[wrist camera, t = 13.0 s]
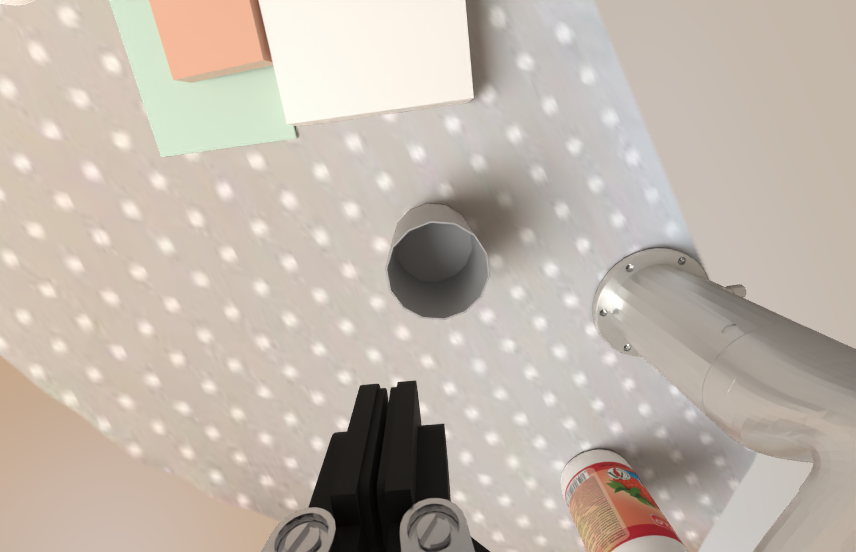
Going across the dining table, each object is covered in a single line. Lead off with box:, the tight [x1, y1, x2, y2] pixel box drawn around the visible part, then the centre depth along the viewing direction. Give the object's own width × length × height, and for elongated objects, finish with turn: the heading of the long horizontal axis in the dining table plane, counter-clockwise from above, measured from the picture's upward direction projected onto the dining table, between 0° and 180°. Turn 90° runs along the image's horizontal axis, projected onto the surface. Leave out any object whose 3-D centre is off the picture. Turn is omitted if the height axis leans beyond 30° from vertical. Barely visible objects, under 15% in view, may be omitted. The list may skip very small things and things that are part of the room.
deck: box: [258, 0, 474, 126], centre depth 33 cm, size 16×14×4 cm
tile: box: [149, 0, 273, 83], centre depth 33 cm, size 9×6×2 cm, turn 98°
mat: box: [109, 0, 297, 157], centre depth 35 cm, size 13×16×1 cm
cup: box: [386, 203, 490, 320], centre depth 37 cm, size 8×8×10 cm
